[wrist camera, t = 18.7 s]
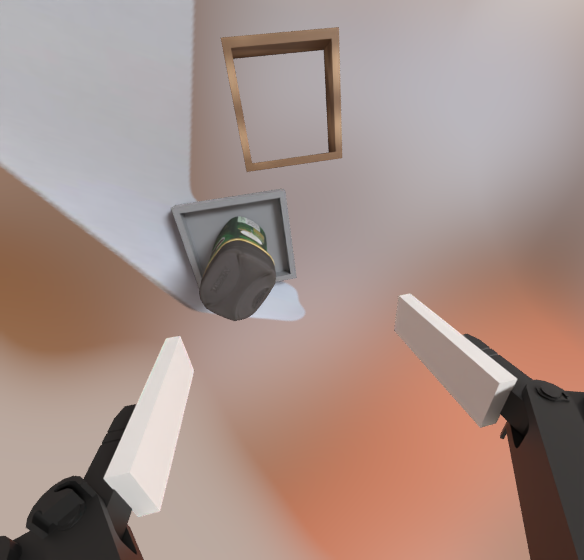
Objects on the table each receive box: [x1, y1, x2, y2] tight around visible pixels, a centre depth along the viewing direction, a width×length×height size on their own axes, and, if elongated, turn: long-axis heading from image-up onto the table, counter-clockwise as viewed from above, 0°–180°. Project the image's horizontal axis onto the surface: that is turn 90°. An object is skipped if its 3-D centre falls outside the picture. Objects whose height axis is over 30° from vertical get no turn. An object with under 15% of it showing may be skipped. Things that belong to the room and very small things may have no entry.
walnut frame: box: [221, 27, 342, 172], centre depth 35 cm, size 15×15×4 cm
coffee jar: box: [199, 216, 276, 321], centre depth 35 cm, size 10×8×19 cm
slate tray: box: [171, 189, 296, 289], centre depth 43 cm, size 16×18×3 cm
